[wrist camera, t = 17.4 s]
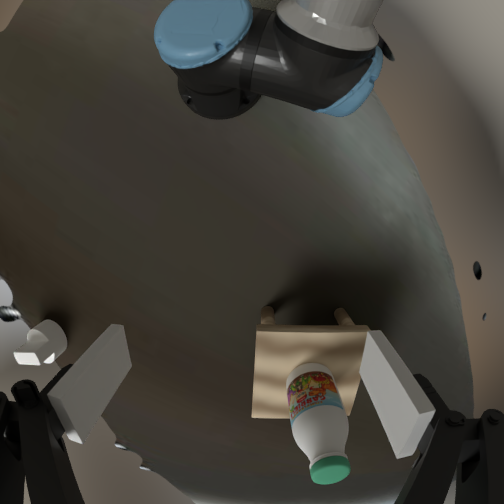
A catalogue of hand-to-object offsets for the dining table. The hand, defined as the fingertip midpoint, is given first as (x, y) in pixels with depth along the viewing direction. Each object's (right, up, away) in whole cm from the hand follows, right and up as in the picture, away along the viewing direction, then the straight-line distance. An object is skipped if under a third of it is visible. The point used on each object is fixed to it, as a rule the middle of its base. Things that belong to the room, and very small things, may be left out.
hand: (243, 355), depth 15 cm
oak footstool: (+10, -13, +41) cm, 45 cm away
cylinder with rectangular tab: (-48, -15, +44) cm, 67 cm away
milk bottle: (+10, -15, +30) cm, 35 cm away
